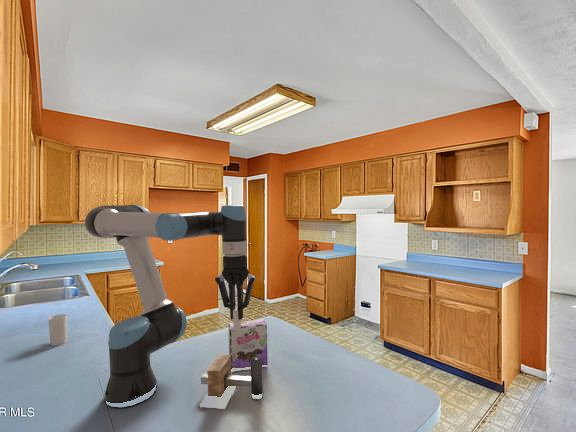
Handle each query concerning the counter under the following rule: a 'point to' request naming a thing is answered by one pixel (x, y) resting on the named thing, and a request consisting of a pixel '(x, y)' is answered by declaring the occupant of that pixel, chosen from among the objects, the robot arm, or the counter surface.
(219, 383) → the eye block
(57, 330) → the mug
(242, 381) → the hook rod
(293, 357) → the counter surface
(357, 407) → the counter surface
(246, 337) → the candy box
